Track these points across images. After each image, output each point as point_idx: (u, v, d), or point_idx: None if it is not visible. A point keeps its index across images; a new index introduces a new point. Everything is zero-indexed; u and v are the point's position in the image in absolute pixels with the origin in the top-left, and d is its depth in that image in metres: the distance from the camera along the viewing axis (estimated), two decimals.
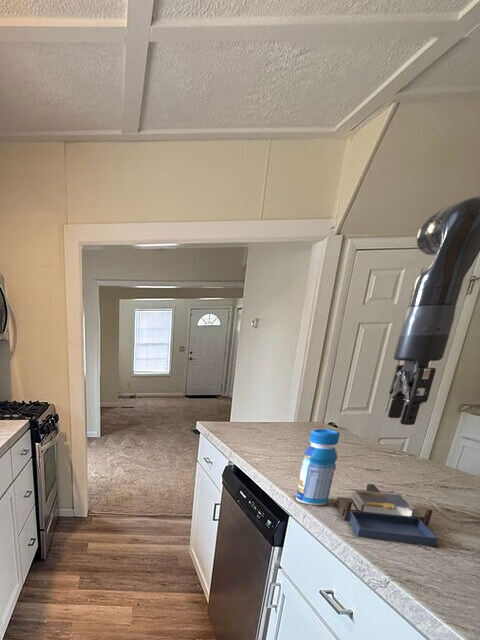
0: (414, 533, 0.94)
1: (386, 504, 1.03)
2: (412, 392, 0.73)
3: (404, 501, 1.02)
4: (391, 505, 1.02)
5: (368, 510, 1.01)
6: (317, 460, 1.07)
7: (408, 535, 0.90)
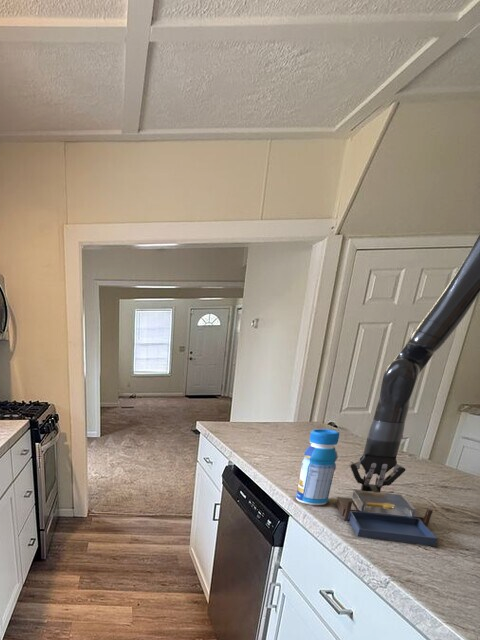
0: (414, 533, 0.94)
1: (386, 504, 1.03)
2: (391, 480, 1.09)
3: (404, 501, 1.02)
4: (391, 505, 1.02)
5: (368, 510, 1.01)
6: (317, 460, 1.07)
7: (408, 535, 0.90)
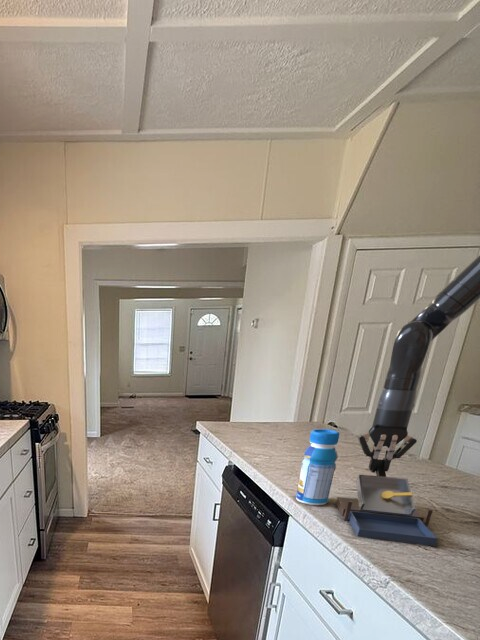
0: (414, 533, 0.94)
1: None
2: (402, 452, 1.05)
3: (408, 491, 1.00)
4: None
5: (368, 507, 1.01)
6: (317, 460, 1.07)
7: (408, 535, 0.90)
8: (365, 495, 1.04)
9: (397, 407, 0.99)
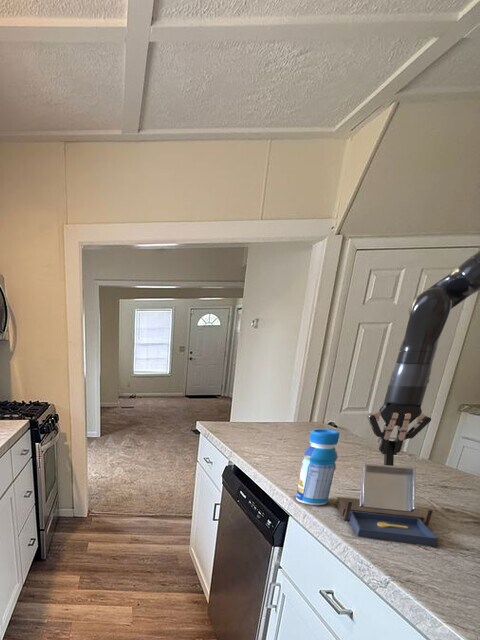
0: (414, 533, 0.94)
1: (386, 524, 0.98)
2: (415, 432, 0.98)
3: (412, 485, 0.98)
4: (380, 523, 0.98)
5: (368, 503, 1.01)
6: (317, 460, 1.07)
7: (408, 535, 0.90)
8: (367, 487, 1.02)
9: (411, 383, 0.93)
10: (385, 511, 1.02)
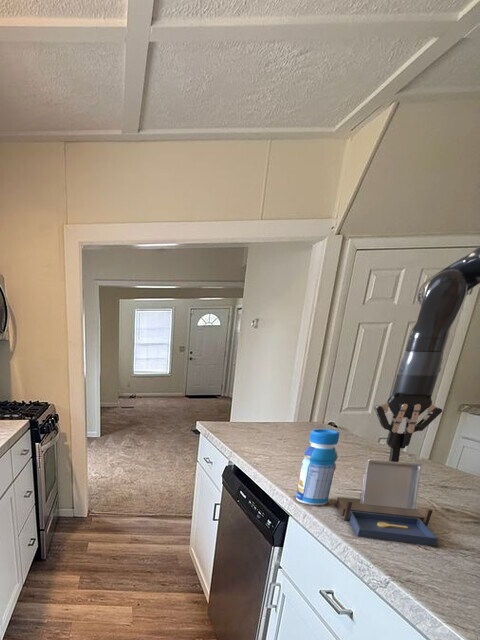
0: (414, 533, 0.94)
1: (386, 524, 0.98)
2: (425, 424, 0.93)
3: (416, 483, 0.96)
4: (380, 523, 0.98)
5: (369, 500, 1.01)
6: (317, 460, 1.07)
7: (408, 535, 0.90)
8: (370, 484, 1.01)
9: (421, 371, 0.88)
10: (385, 511, 1.02)
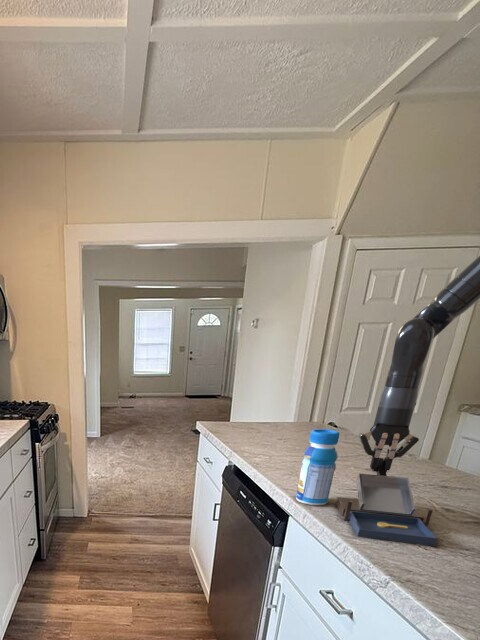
0: (414, 533, 0.94)
1: (386, 524, 0.98)
2: (403, 451, 1.03)
3: (408, 491, 1.00)
4: (380, 523, 0.98)
5: (368, 506, 1.01)
6: (317, 460, 1.07)
7: (408, 535, 0.90)
8: (365, 494, 1.04)
9: (399, 405, 0.98)
10: None
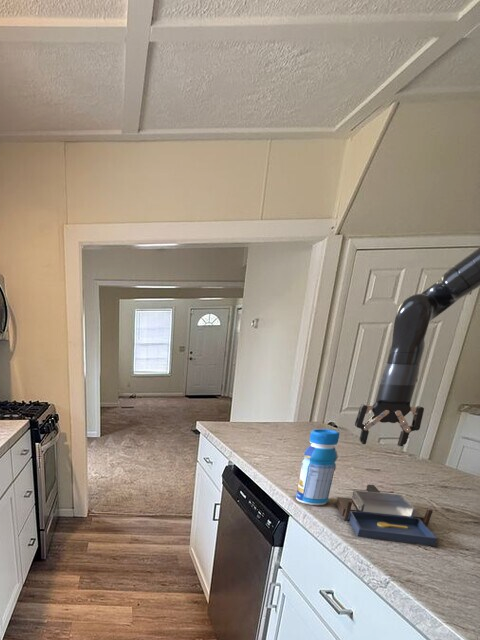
0: (414, 533, 0.94)
1: (386, 524, 0.98)
2: (418, 424, 1.03)
3: (404, 501, 1.02)
4: (380, 523, 0.98)
5: (368, 510, 1.01)
6: (317, 460, 1.07)
7: (408, 535, 0.90)
8: None
9: (400, 381, 1.00)
10: None
